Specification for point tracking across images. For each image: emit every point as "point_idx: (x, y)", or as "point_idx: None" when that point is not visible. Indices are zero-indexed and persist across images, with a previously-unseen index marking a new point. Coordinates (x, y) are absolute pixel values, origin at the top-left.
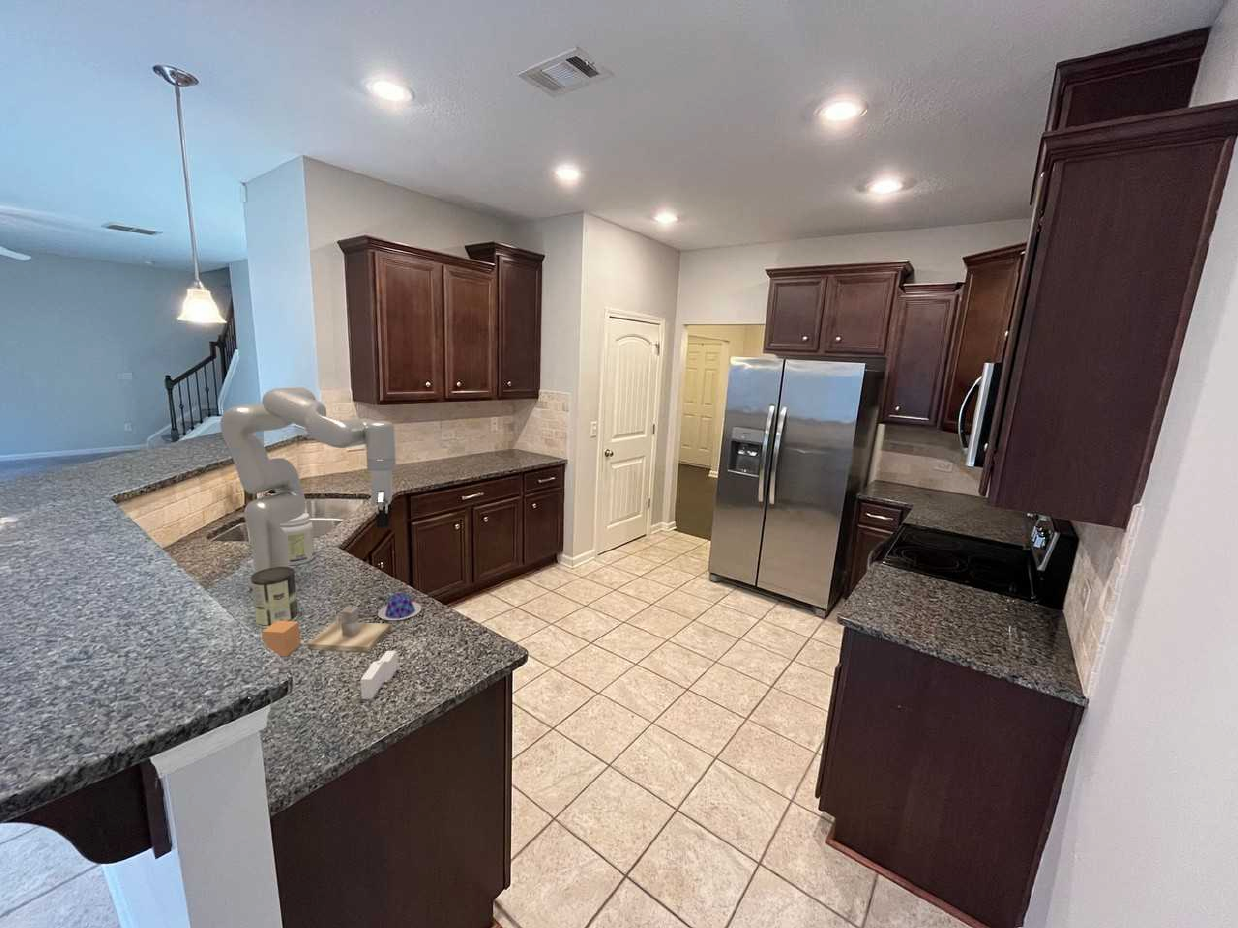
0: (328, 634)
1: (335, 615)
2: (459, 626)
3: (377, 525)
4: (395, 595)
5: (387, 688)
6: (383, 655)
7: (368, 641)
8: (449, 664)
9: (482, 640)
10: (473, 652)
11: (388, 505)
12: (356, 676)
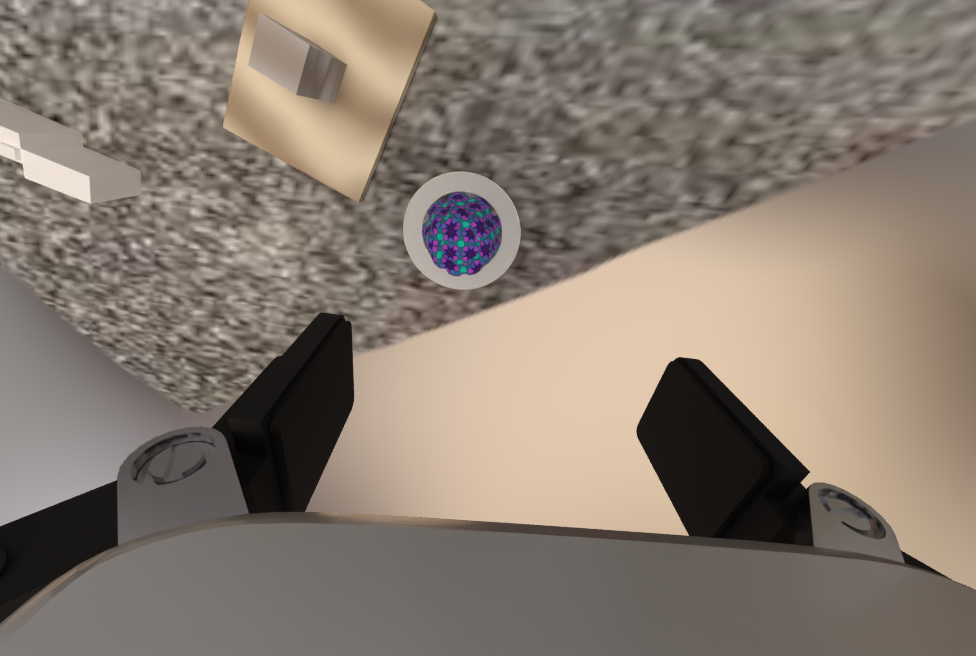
0: None
1: (522, 20)
2: None
3: (317, 324)
4: (479, 237)
5: None
6: (60, 165)
7: (258, 128)
8: (159, 305)
9: None
10: (208, 354)
11: (703, 529)
12: (98, 82)
